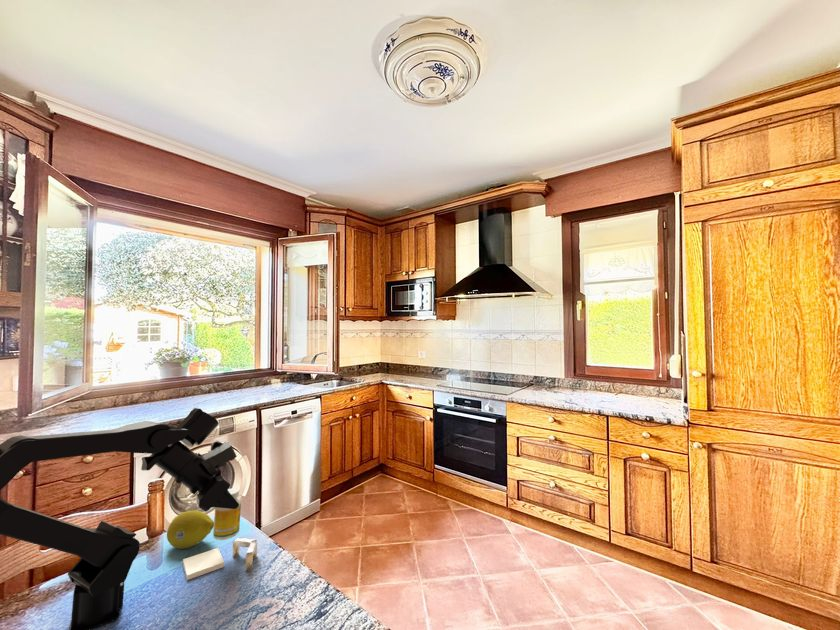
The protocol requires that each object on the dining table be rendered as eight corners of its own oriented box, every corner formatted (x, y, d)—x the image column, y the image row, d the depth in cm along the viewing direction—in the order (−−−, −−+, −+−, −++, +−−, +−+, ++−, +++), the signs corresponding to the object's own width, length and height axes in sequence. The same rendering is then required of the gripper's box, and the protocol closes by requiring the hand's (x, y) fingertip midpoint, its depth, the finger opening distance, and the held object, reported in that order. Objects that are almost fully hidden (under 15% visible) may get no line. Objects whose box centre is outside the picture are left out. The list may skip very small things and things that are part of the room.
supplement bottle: (211, 533, 81) (214, 490, 82) (236, 526, 84) (239, 485, 85) (215, 543, 77) (218, 498, 78) (241, 535, 80) (244, 492, 81)
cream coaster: (186, 580, 73) (186, 575, 73) (182, 564, 78) (183, 559, 78) (224, 566, 77) (224, 562, 77) (217, 552, 83) (218, 547, 83)
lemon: (155, 552, 82) (158, 517, 83) (183, 534, 90) (185, 503, 91) (194, 558, 80) (196, 522, 81) (219, 539, 88) (221, 507, 89)
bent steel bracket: (241, 574, 75) (241, 556, 75) (231, 554, 82) (232, 538, 82) (262, 565, 78) (263, 549, 78) (251, 547, 85) (252, 532, 85)
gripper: (222, 442, 73) (273, 484, 79) (207, 426, 87) (251, 462, 93) (173, 490, 67) (232, 531, 73) (166, 464, 82) (216, 501, 88)
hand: (234, 502), depth 82 cm, fingers closed on supplement bottle, 5 cm apart
